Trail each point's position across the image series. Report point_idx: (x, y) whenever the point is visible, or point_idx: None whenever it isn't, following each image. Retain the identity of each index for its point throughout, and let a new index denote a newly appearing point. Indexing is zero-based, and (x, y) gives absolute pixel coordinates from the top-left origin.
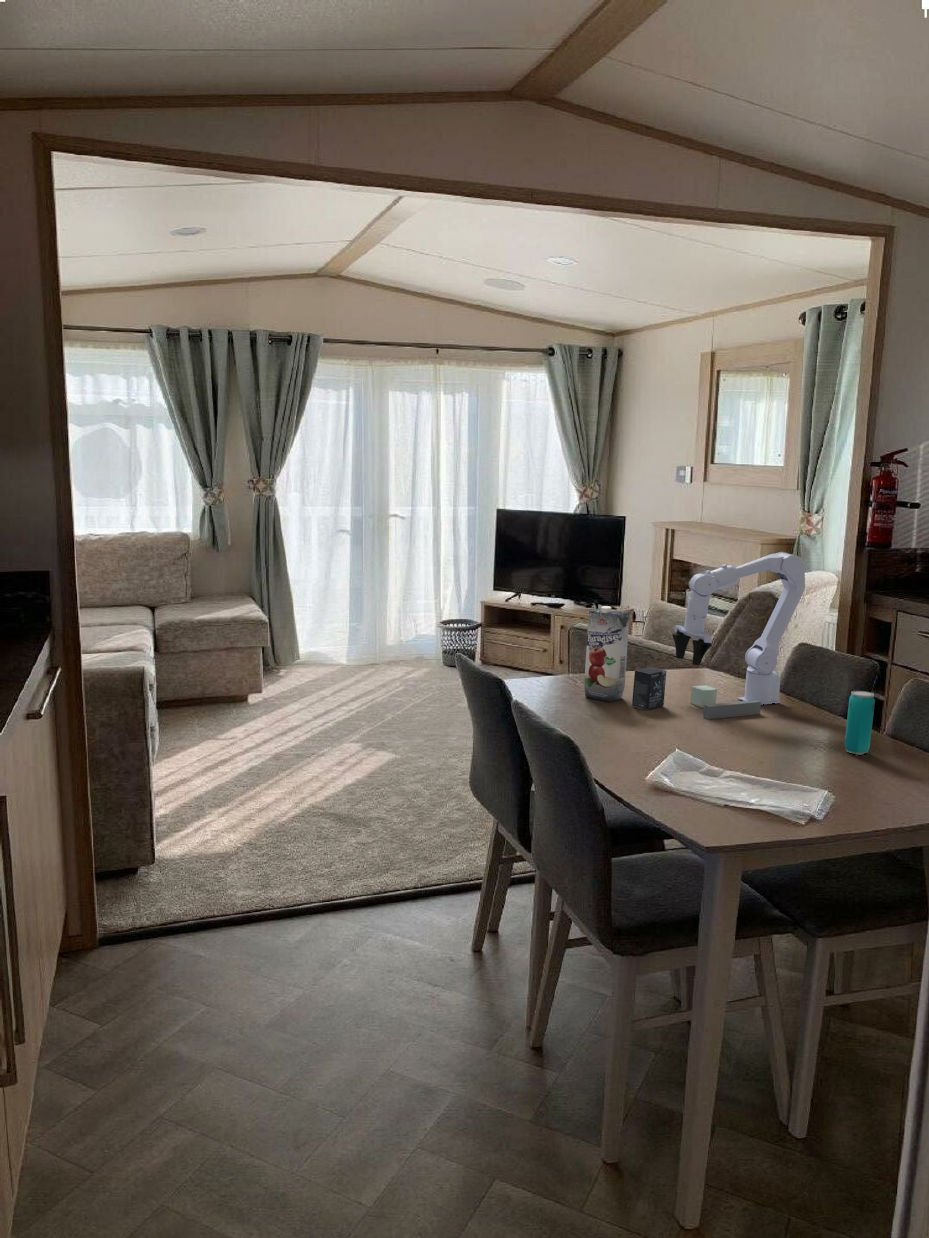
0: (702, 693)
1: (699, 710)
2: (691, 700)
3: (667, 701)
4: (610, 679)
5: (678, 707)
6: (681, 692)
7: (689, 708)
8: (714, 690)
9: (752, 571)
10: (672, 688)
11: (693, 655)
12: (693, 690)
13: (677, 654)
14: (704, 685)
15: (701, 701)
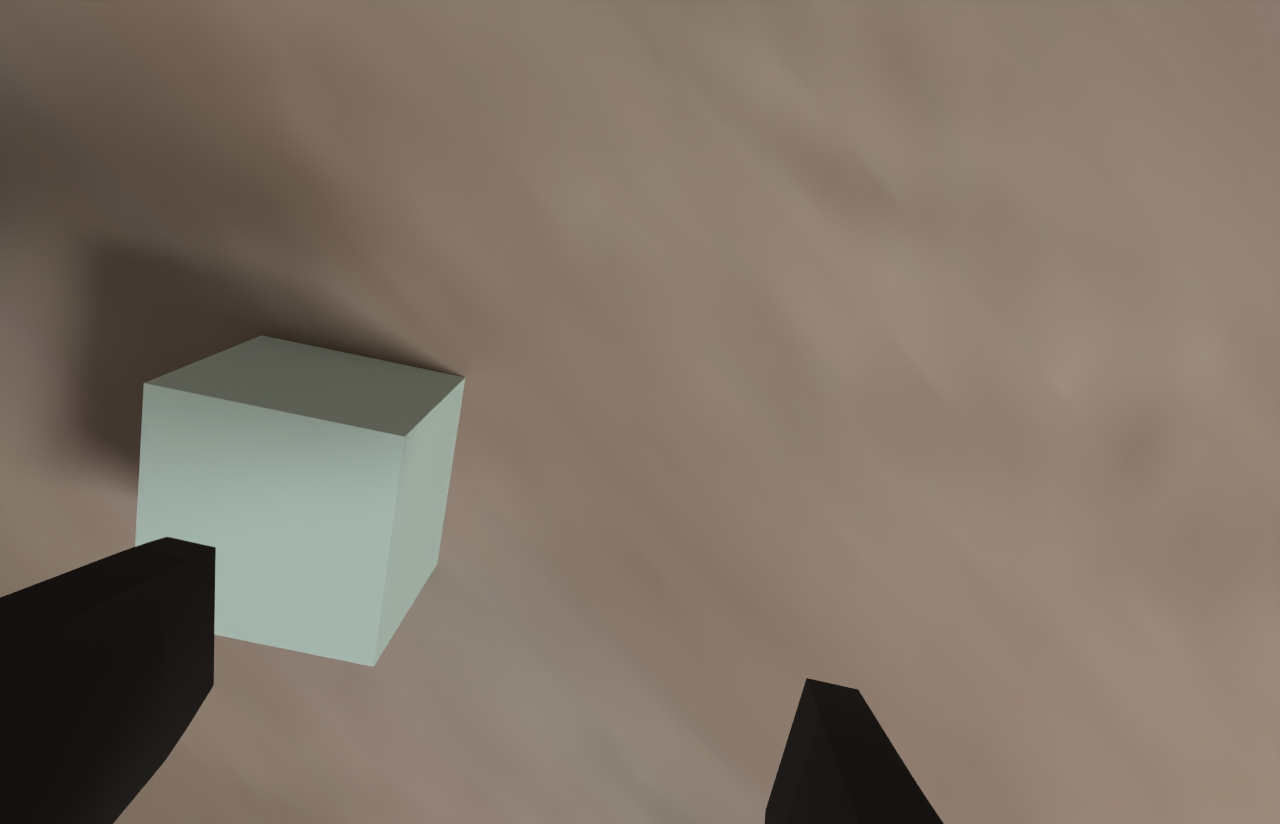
0: (174, 374)
1: (160, 196)
2: (442, 382)
3: (653, 174)
4: None
5: (370, 63)
6: (866, 666)
7: (278, 157)
8: None
9: None
10: (1052, 719)
11: (15, 636)
12: (376, 413)
13: (821, 727)
14: (372, 642)
15: (237, 350)
